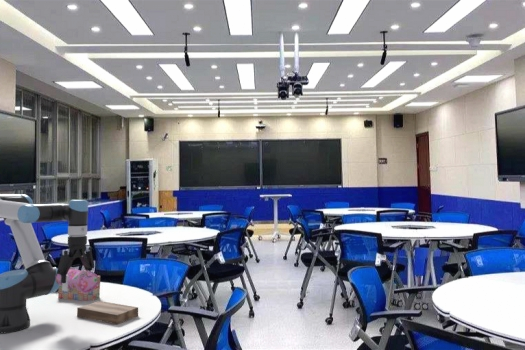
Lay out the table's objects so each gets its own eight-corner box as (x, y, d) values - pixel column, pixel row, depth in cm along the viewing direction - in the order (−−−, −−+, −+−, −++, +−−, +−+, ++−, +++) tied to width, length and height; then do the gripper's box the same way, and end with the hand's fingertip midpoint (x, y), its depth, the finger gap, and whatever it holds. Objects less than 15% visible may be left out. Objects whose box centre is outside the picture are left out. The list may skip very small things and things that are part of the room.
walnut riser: (117, 324, 172) (117, 315, 172) (77, 316, 183) (77, 307, 183) (138, 316, 184) (138, 307, 184) (99, 309, 195) (99, 300, 195)
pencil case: (53, 287, 171) (54, 266, 172) (74, 283, 178) (75, 263, 179) (77, 296, 158) (78, 273, 158) (99, 291, 165) (100, 270, 165)
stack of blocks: (57, 298, 214) (58, 275, 214) (65, 295, 220) (66, 273, 221) (92, 300, 210) (93, 277, 210) (99, 297, 216) (100, 275, 217)
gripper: (60, 238, 157) (58, 294, 156) (104, 233, 178) (102, 283, 177) (47, 237, 161) (45, 292, 160) (92, 232, 181) (90, 281, 180)
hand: (75, 287), depth 168 cm, fingers closed on pencil case, 10 cm apart
